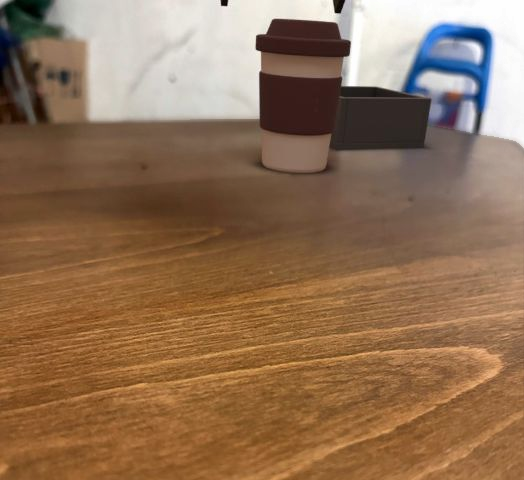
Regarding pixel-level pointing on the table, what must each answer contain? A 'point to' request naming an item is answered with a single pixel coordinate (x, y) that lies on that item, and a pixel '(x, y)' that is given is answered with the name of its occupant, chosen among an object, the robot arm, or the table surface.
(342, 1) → the robot arm
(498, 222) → the table surface
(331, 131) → the coffee cup
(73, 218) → the table surface
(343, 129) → the basket
